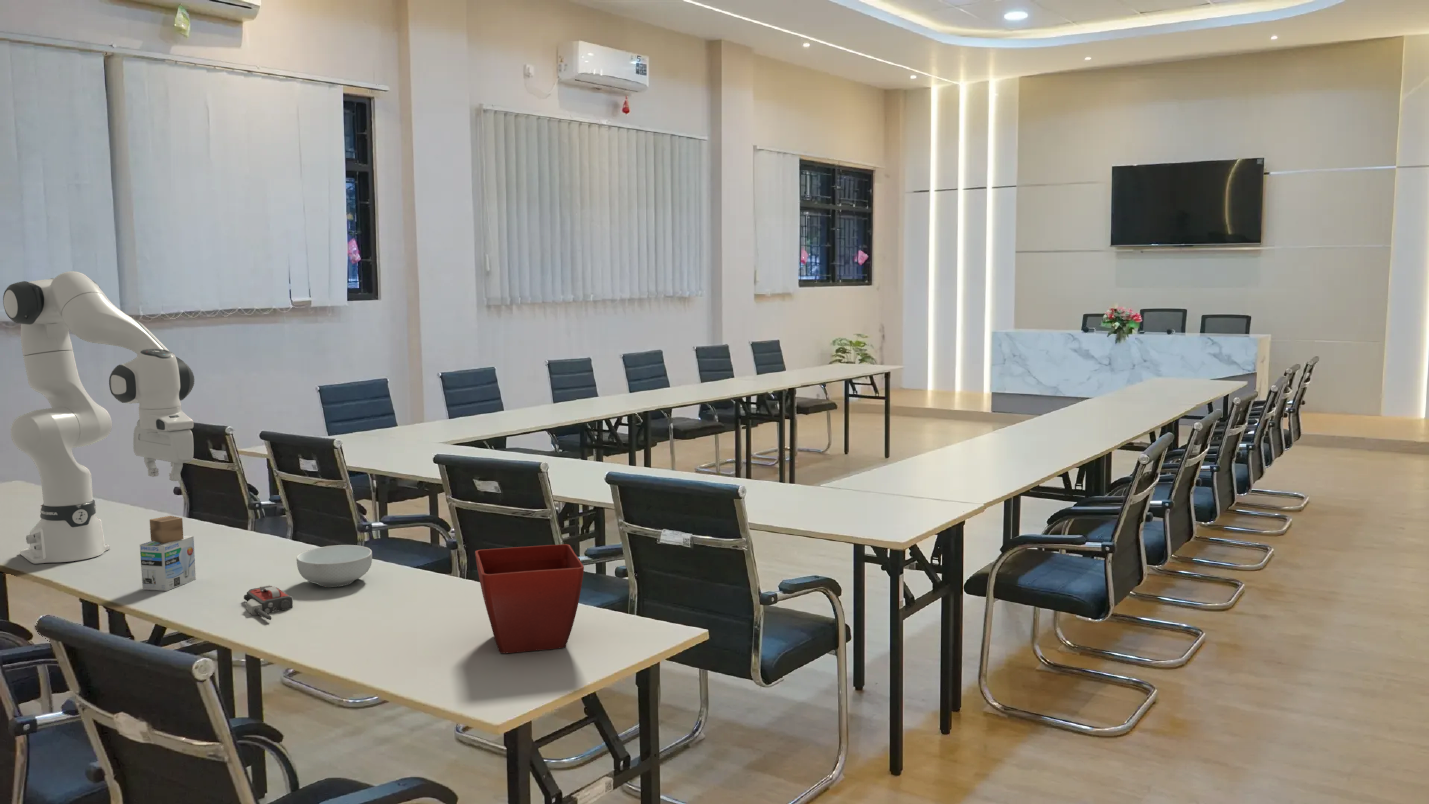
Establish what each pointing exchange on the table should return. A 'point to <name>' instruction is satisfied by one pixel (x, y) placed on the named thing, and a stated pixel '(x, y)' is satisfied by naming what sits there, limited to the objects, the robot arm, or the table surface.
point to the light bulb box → (167, 564)
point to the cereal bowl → (334, 564)
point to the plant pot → (530, 595)
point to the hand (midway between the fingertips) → (164, 478)
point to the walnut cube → (166, 529)
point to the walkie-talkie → (267, 601)
